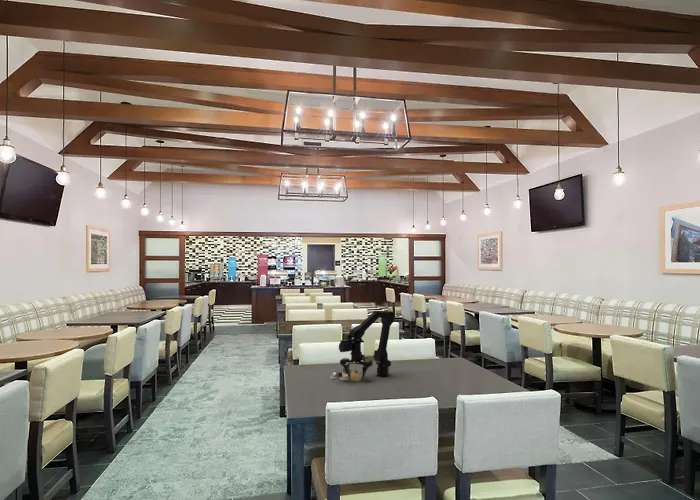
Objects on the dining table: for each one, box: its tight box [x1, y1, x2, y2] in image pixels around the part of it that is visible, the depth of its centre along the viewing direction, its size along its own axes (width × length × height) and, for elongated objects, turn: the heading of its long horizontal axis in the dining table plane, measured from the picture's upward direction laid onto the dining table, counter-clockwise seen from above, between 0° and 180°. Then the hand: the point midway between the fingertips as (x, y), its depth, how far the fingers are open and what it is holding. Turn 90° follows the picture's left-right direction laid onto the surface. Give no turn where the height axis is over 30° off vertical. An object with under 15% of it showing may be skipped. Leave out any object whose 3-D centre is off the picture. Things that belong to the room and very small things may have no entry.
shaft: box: [330, 370, 343, 378], centre depth 255 cm, size 6×5×3 cm
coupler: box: [350, 369, 362, 382], centre depth 251 cm, size 4×4×6 cm
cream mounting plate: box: [329, 367, 353, 381], centre depth 260 cm, size 12×16×4 cm
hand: (356, 377), depth 251 cm, fingers open, 9 cm apart
